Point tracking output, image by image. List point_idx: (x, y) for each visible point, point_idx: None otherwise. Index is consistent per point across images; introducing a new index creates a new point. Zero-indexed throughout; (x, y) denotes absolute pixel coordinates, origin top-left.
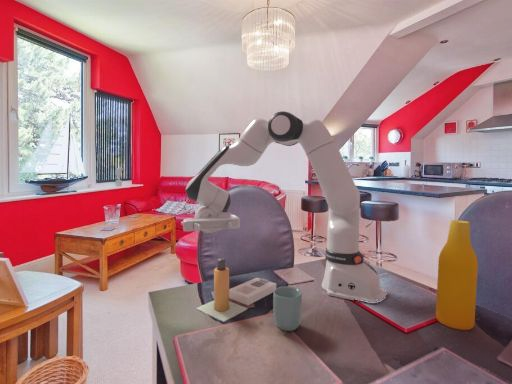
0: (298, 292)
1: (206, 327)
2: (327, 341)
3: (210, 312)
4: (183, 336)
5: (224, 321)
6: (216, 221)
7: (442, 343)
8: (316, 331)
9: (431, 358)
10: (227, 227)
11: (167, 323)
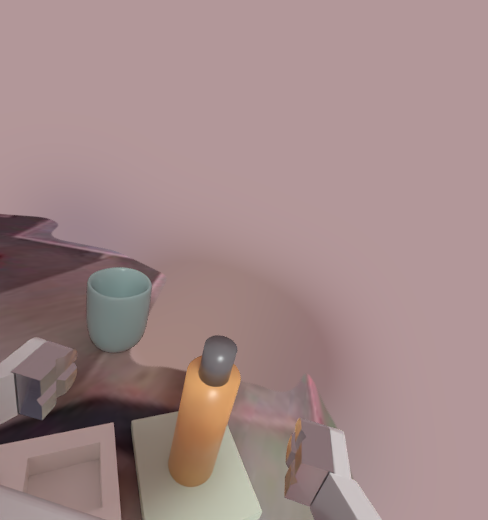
0: (95, 279)
1: (253, 424)
2: None
3: (230, 457)
4: None
5: None
6: (57, 510)
7: (3, 237)
8: None
9: (53, 241)
10: (69, 366)
11: None
